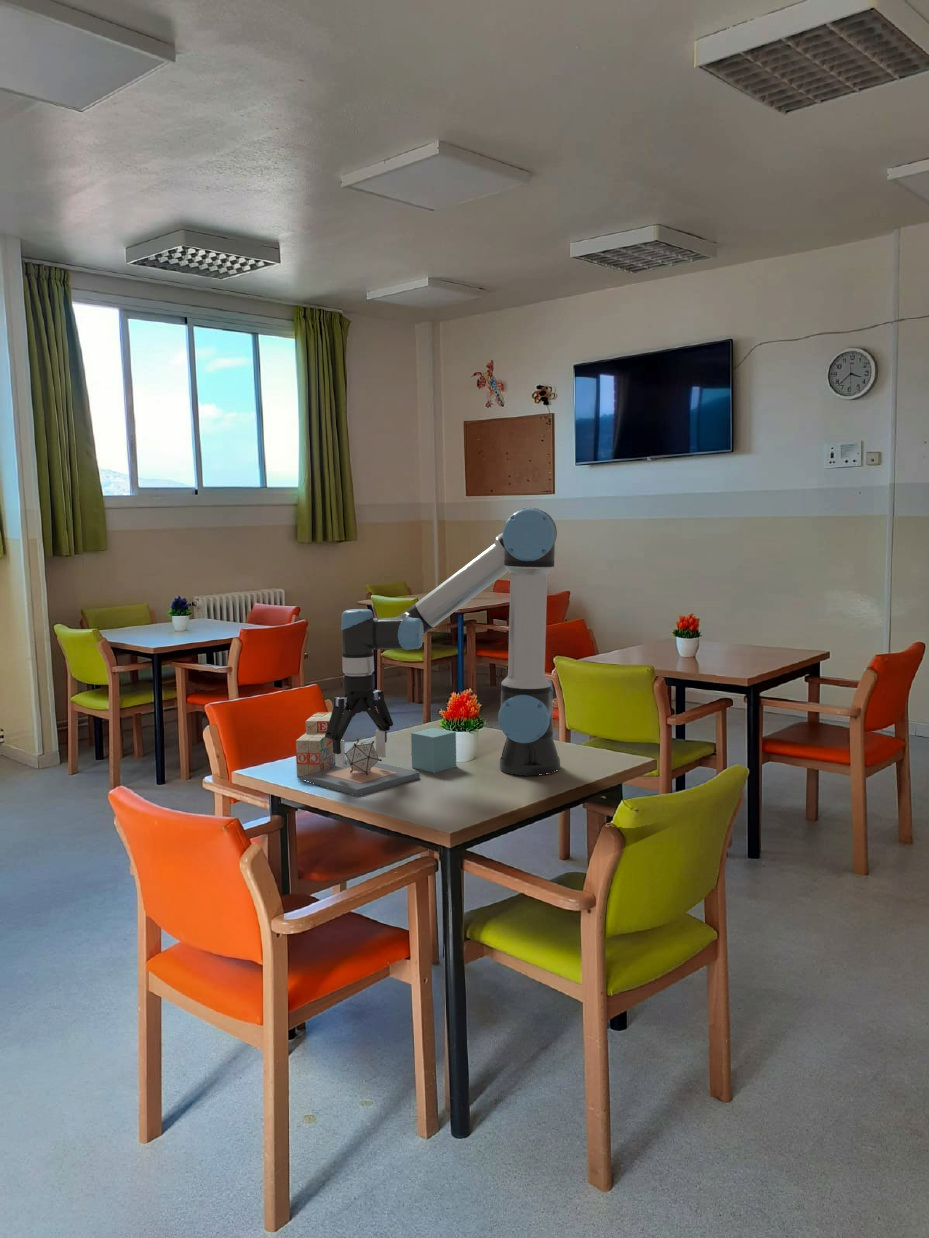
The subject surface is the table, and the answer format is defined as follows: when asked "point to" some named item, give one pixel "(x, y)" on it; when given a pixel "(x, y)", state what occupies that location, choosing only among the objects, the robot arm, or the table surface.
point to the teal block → (433, 749)
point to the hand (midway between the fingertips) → (361, 761)
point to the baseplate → (361, 778)
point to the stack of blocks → (315, 746)
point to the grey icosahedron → (362, 756)
